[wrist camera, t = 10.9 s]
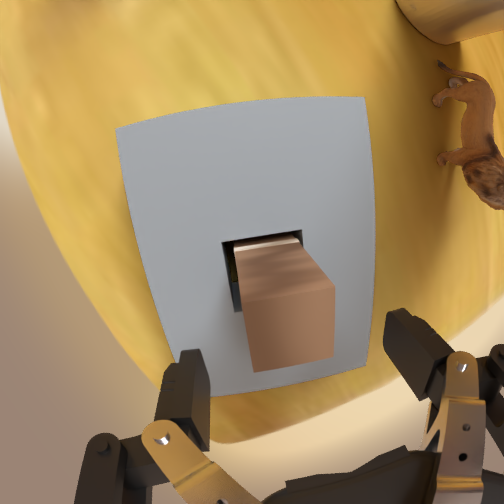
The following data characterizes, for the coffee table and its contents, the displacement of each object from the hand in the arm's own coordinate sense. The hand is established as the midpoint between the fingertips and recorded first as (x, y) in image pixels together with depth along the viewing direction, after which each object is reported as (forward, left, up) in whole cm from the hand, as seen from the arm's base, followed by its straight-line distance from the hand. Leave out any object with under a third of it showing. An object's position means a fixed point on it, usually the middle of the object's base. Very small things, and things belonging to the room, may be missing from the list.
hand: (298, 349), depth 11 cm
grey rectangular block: (0, 0, -13) cm, 13 cm away
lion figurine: (-21, -9, -14) cm, 27 cm away
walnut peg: (0, 0, -13) cm, 13 cm away
